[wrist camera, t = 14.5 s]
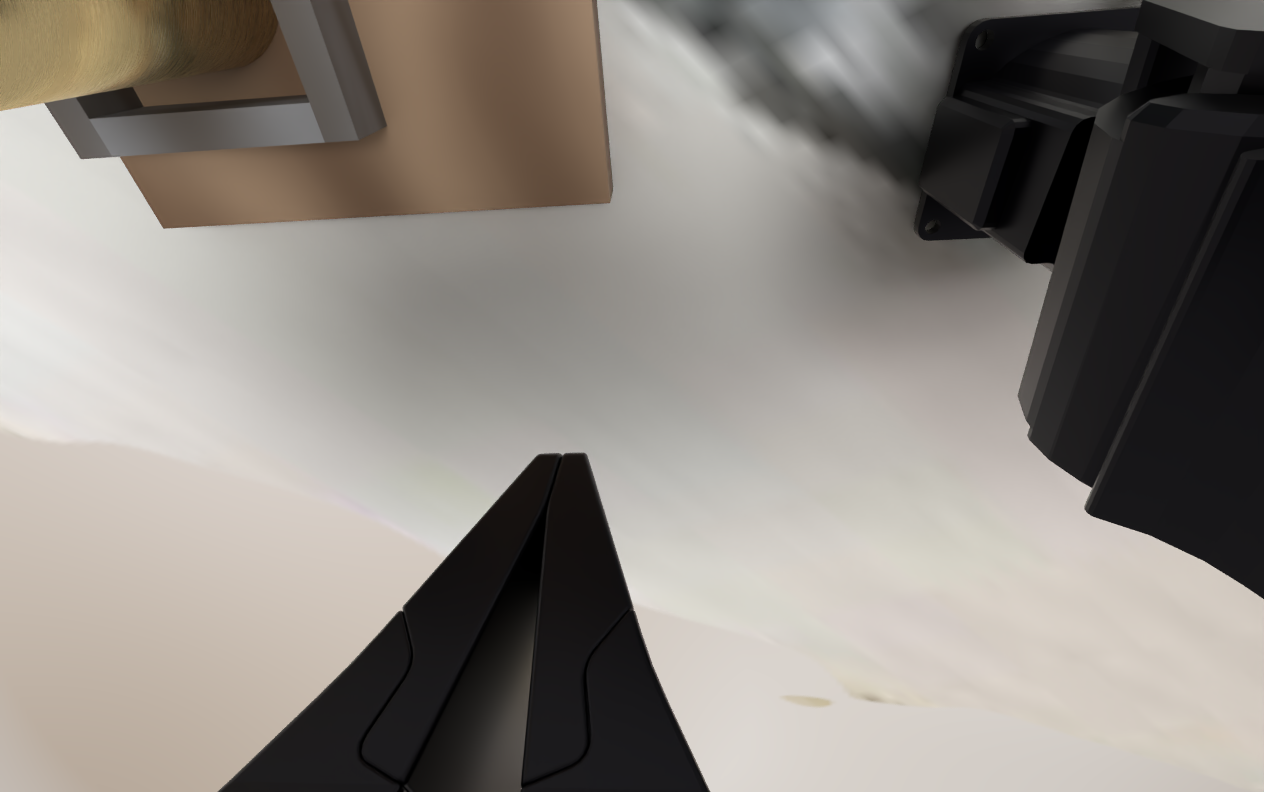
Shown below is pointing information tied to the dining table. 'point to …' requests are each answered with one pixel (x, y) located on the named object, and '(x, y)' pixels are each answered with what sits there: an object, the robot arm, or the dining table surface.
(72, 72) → the solid brass cylinder
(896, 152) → the dining table surface
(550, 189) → the jig
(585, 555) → the robot arm
